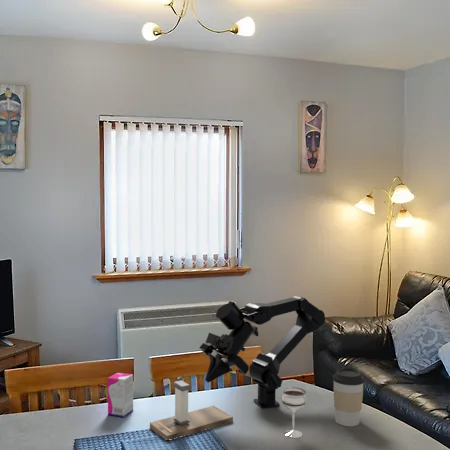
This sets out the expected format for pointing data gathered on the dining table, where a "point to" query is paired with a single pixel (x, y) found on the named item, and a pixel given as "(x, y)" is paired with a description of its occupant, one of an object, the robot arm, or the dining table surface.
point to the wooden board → (191, 422)
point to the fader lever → (181, 402)
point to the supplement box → (120, 394)
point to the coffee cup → (348, 396)
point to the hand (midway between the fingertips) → (206, 381)
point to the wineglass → (293, 406)
